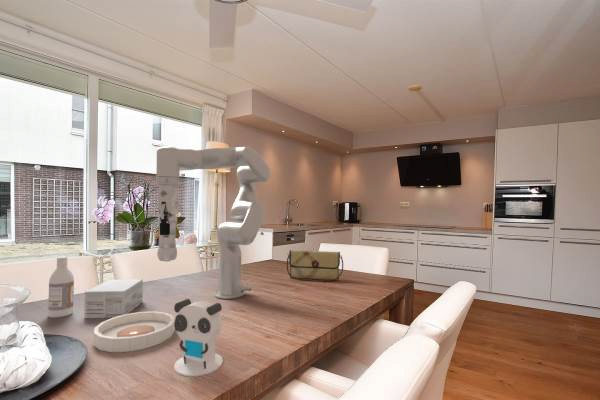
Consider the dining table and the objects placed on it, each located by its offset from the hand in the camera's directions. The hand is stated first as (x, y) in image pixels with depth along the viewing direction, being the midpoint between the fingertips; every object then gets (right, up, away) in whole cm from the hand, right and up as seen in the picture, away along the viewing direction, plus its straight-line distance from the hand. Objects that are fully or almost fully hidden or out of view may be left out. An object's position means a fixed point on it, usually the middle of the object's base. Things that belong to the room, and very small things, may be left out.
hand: (167, 233), depth 111 cm
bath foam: (-37, -28, -1) cm, 47 cm away
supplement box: (-21, -29, +6) cm, 36 cm away
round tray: (-2, -28, -17) cm, 33 cm away
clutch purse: (+54, -31, +55) cm, 83 cm away
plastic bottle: (0, -10, 0) cm, 10 cm away
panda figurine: (+21, -29, -33) cm, 49 cm away
